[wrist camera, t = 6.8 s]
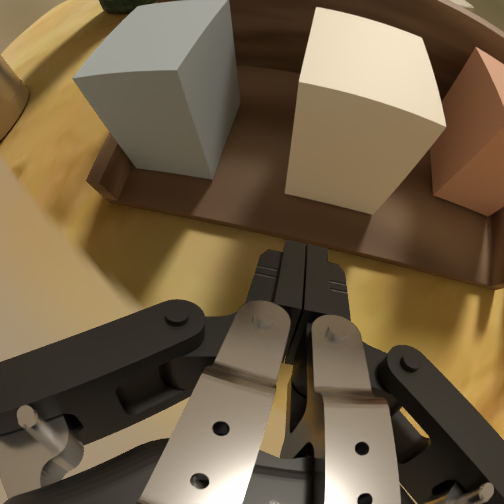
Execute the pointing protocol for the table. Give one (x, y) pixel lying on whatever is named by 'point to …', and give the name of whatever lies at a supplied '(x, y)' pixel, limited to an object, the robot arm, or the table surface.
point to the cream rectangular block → (361, 112)
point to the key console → (279, 144)
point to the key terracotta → (472, 138)
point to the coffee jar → (123, 5)
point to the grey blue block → (167, 85)
